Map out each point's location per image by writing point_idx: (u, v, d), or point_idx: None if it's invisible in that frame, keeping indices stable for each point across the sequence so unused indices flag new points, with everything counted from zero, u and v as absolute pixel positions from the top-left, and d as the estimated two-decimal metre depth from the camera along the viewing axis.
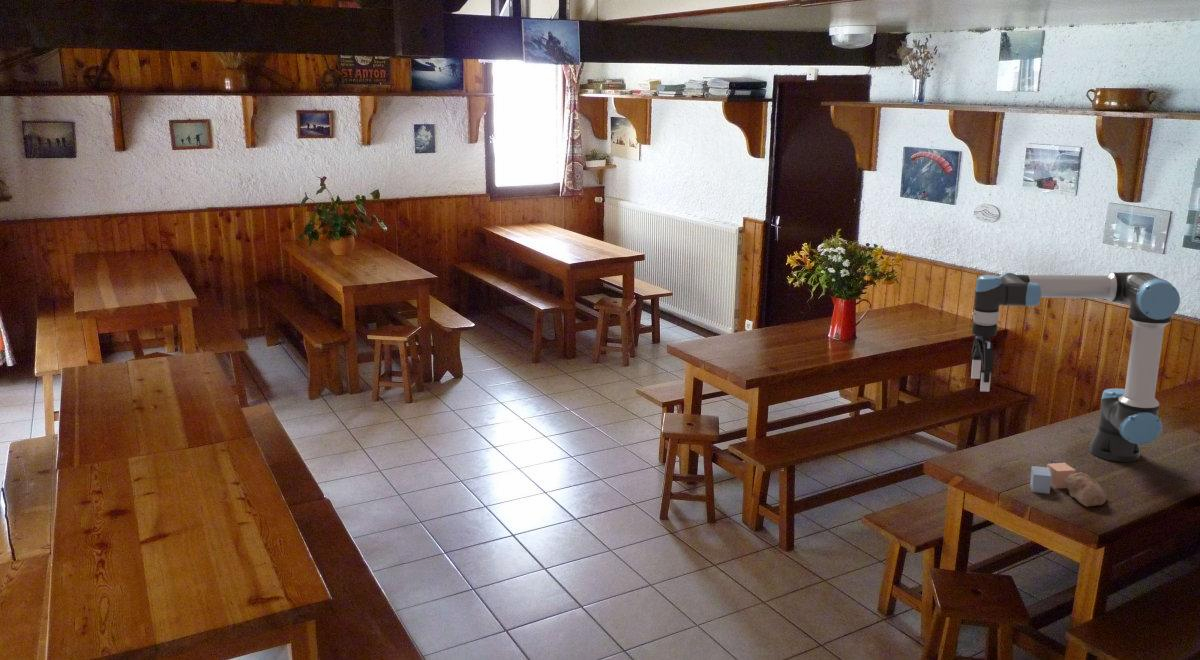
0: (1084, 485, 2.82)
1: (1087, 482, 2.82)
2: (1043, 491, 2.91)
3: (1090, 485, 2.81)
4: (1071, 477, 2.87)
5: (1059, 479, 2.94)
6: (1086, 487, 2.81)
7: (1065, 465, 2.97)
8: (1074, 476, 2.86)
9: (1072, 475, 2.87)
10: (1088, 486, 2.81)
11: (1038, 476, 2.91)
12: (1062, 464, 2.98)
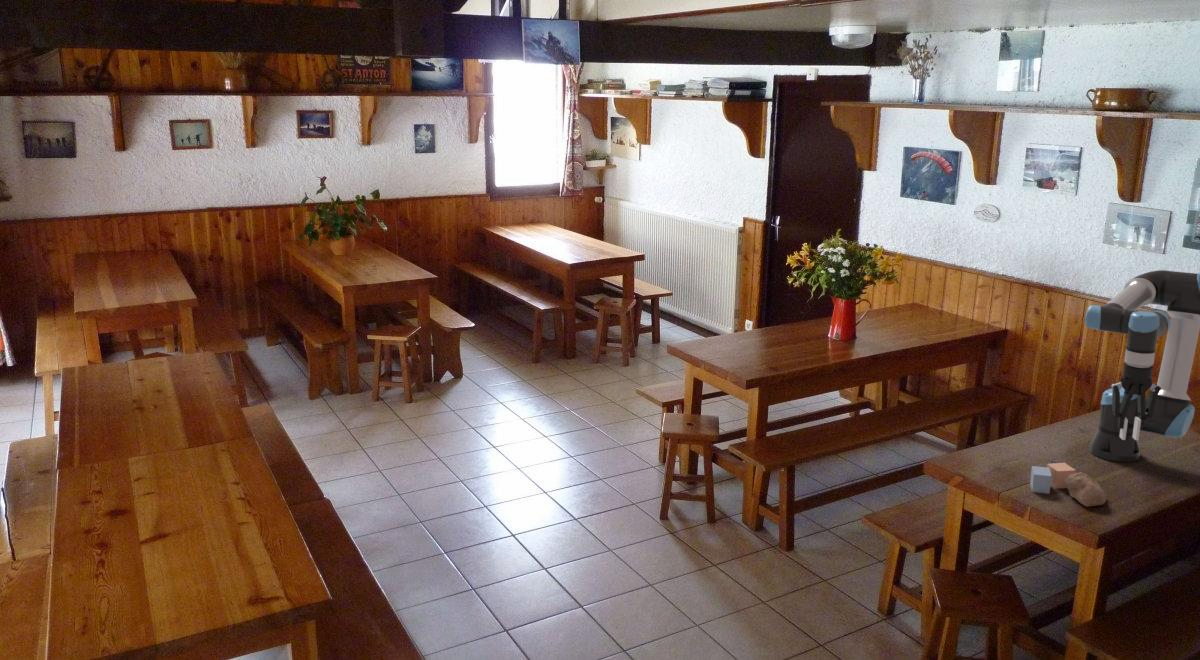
0: (1084, 485, 2.82)
1: (1087, 482, 2.82)
2: (1043, 491, 2.91)
3: (1090, 485, 2.81)
4: (1071, 477, 2.87)
5: (1059, 479, 2.94)
6: (1086, 487, 2.81)
7: (1065, 465, 2.97)
8: (1074, 476, 2.86)
9: (1072, 475, 2.87)
10: (1088, 486, 2.81)
11: (1038, 476, 2.91)
12: (1062, 464, 2.98)
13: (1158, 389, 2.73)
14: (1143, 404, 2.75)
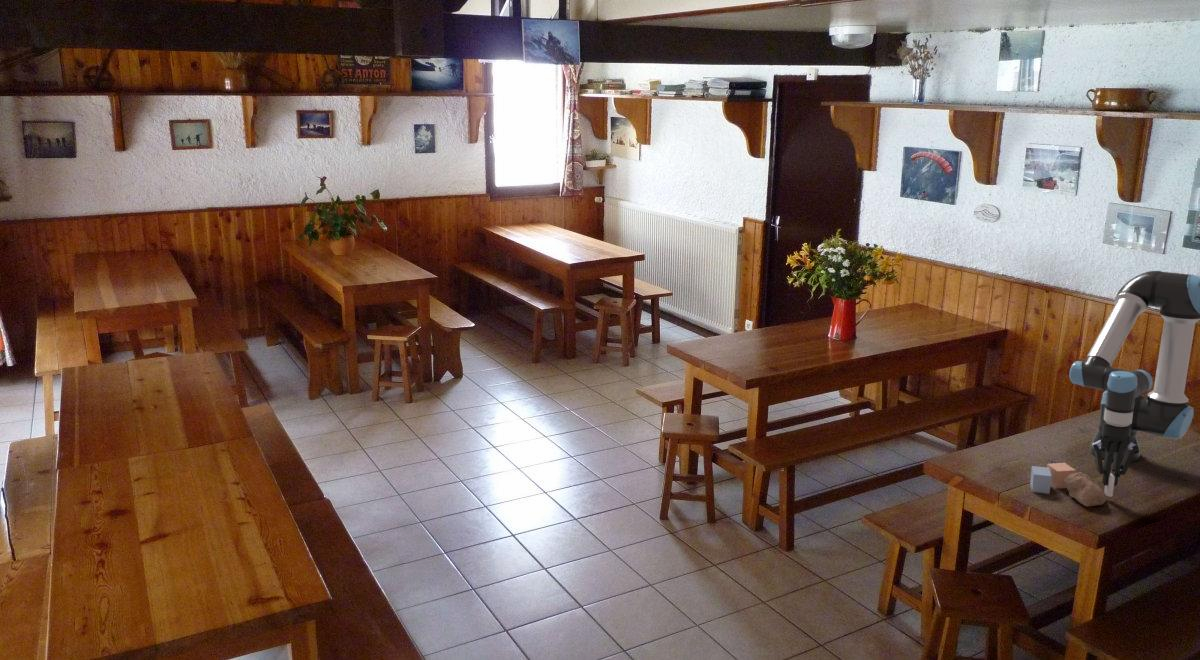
0: (1084, 485, 2.82)
1: (1087, 482, 2.82)
2: (1043, 491, 2.91)
3: (1090, 485, 2.81)
4: (1071, 477, 2.87)
5: (1059, 479, 2.94)
6: (1086, 487, 2.81)
7: (1065, 465, 2.97)
8: (1074, 476, 2.86)
9: (1072, 475, 2.87)
10: (1088, 486, 2.81)
11: (1038, 476, 2.91)
12: (1062, 464, 2.98)
13: (1135, 448, 2.79)
14: (1119, 462, 2.81)
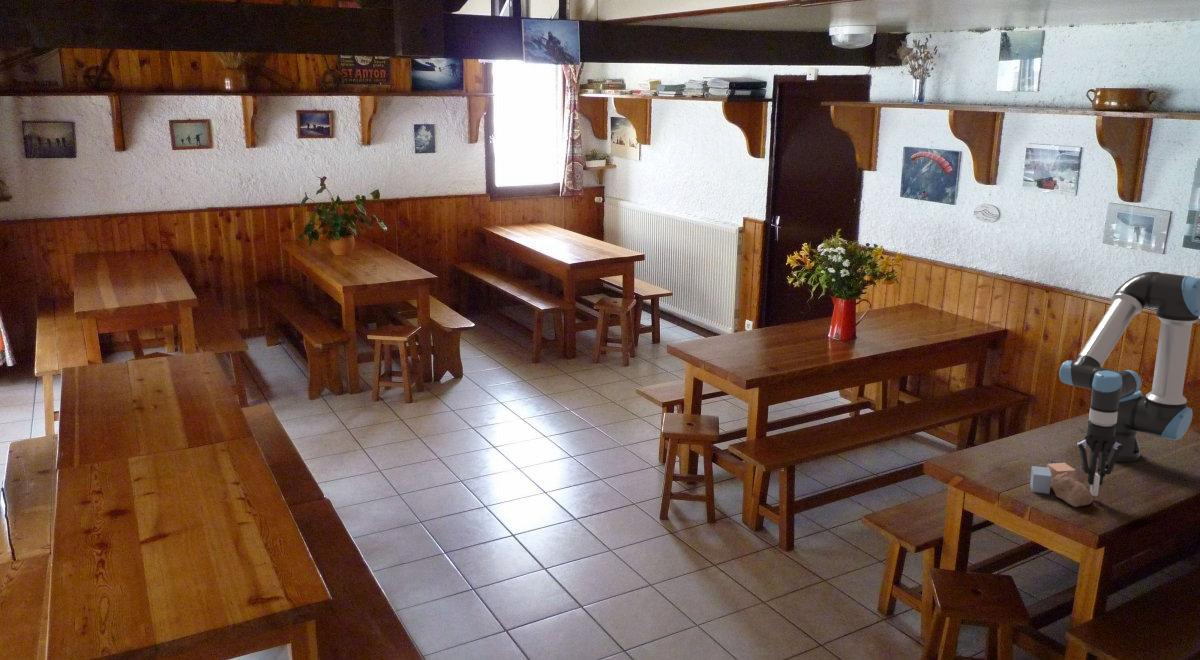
0: (1072, 485, 2.82)
1: (1075, 482, 2.82)
2: (1043, 491, 2.91)
3: (1078, 485, 2.81)
4: (1057, 478, 2.86)
5: None
6: (1074, 488, 2.81)
7: (1065, 465, 2.97)
8: (1060, 477, 2.86)
9: (1058, 476, 2.87)
10: (1076, 486, 2.81)
11: (1038, 476, 2.91)
12: (1062, 464, 2.98)
13: (1120, 448, 2.80)
14: (1104, 461, 2.81)
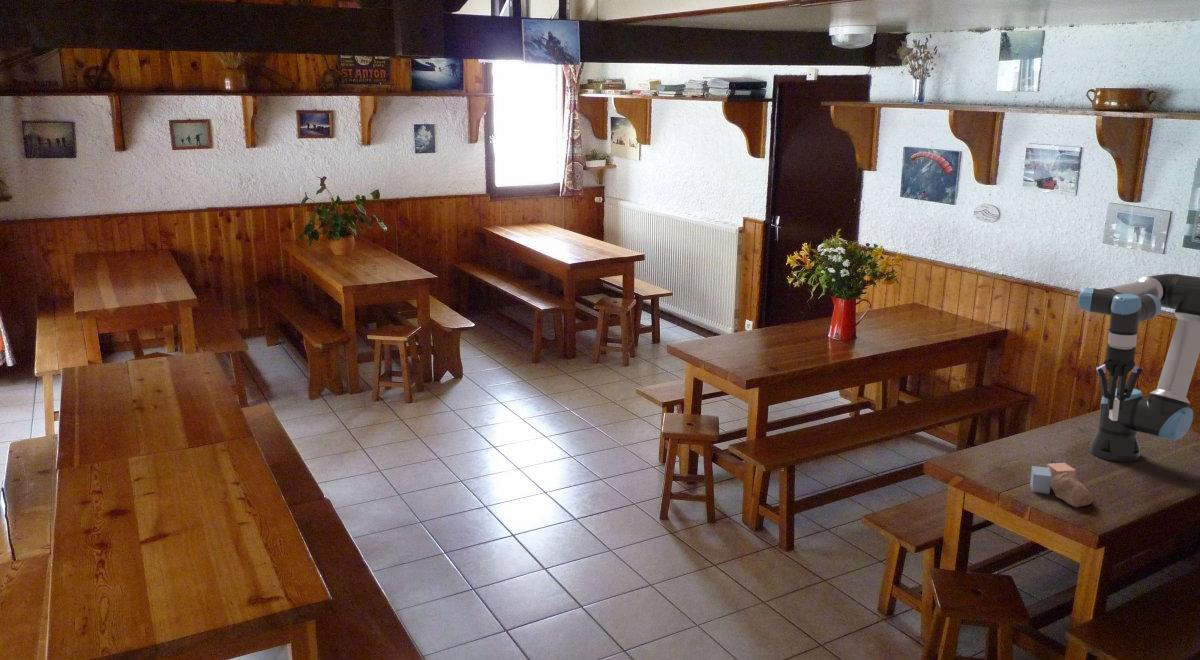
0: (1072, 485, 2.82)
1: (1075, 483, 2.82)
2: (1043, 491, 2.91)
3: (1078, 485, 2.81)
4: (1057, 478, 2.86)
5: None
6: (1074, 488, 2.81)
7: (1065, 465, 2.97)
8: (1060, 477, 2.85)
9: (1058, 476, 2.87)
10: (1076, 486, 2.81)
11: (1038, 476, 2.91)
12: (1062, 464, 2.98)
13: (1140, 371, 2.79)
14: (1123, 385, 2.81)
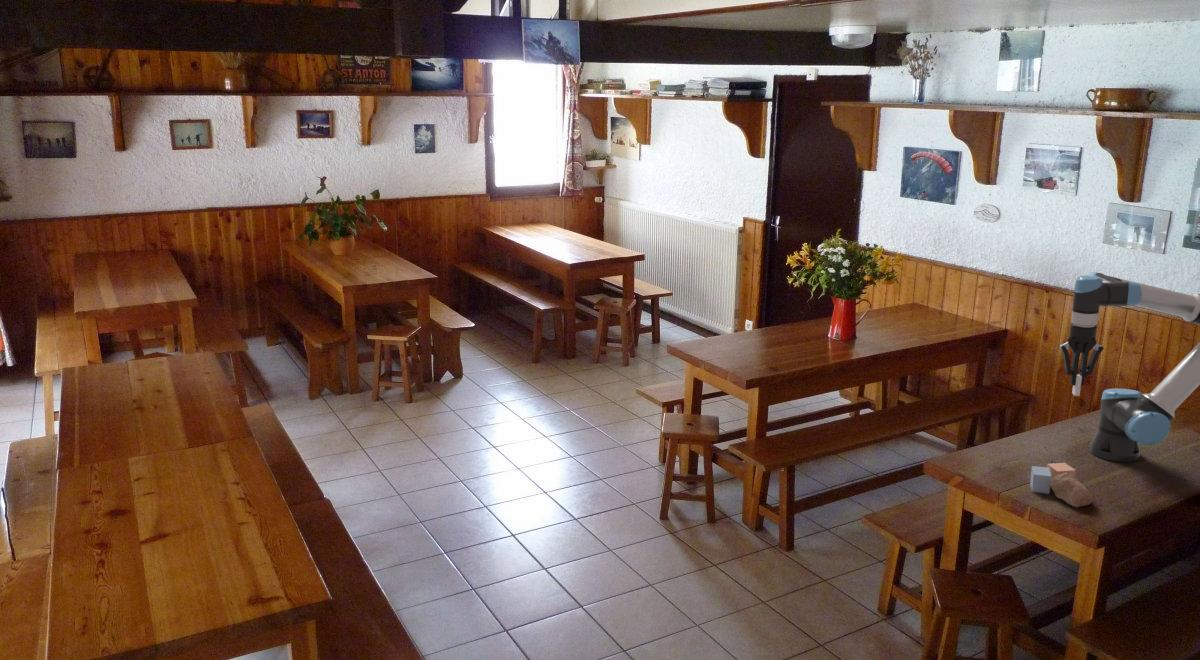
0: (1072, 486, 2.82)
1: (1075, 483, 2.82)
2: (1043, 491, 2.91)
3: (1078, 485, 2.81)
4: (1057, 478, 2.86)
5: None
6: (1074, 488, 2.81)
7: (1065, 465, 2.97)
8: (1060, 478, 2.85)
9: (1058, 476, 2.86)
10: (1076, 486, 2.81)
11: (1038, 476, 2.91)
12: (1062, 464, 2.98)
13: (1101, 349, 2.95)
14: (1085, 362, 2.97)
